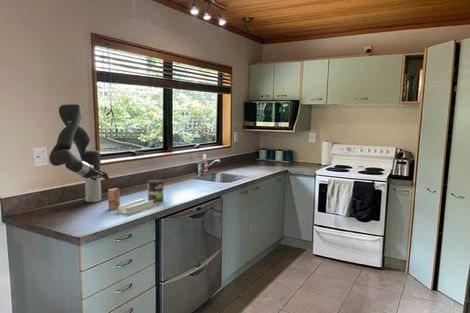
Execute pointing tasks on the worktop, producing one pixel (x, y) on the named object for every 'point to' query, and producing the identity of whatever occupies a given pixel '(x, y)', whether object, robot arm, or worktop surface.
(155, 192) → the coffee can
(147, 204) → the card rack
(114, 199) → the wooden card
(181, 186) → the worktop surface
